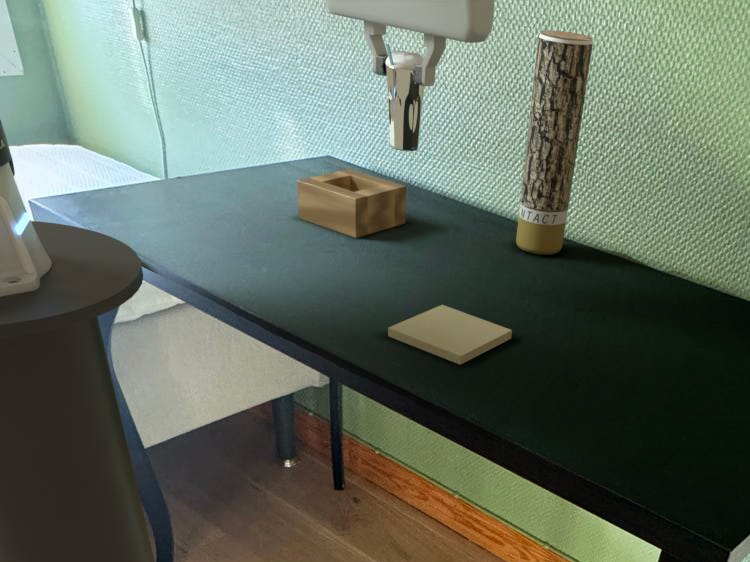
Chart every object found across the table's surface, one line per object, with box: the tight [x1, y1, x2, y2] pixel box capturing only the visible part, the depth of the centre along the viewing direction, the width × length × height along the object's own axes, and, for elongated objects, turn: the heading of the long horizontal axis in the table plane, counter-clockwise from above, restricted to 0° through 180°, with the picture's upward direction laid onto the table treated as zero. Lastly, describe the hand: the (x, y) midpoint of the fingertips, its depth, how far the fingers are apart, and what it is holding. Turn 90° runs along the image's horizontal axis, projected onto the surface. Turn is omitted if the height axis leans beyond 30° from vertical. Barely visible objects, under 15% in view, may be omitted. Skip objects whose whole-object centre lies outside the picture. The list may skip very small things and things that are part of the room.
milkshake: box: [385, 42, 426, 152], centre depth 89 cm, size 5×5×10 cm
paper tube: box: [515, 29, 594, 256], centre depth 108 cm, size 7×7×25 cm
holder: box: [296, 168, 407, 239], centre depth 116 cm, size 11×11×5 cm
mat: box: [387, 304, 513, 366], centre depth 90 cm, size 10×10×1 cm
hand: (403, 80), depth 88 cm, fingers closed on milkshake, 4 cm apart
